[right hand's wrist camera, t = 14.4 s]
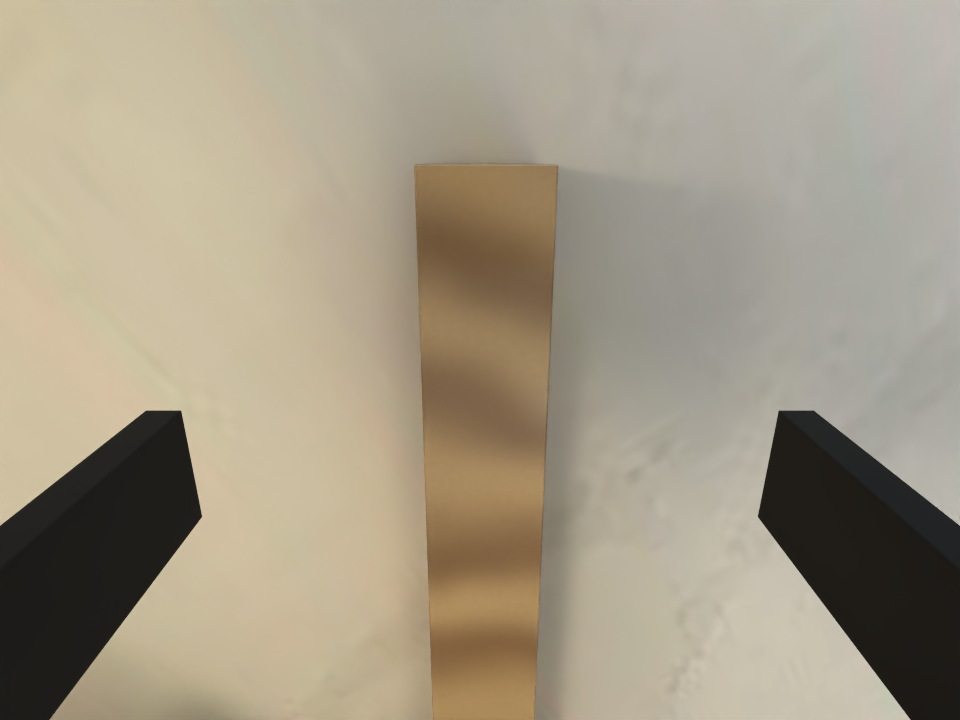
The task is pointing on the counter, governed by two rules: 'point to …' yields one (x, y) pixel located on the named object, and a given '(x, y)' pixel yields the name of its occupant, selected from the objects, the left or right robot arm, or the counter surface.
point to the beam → (485, 425)
